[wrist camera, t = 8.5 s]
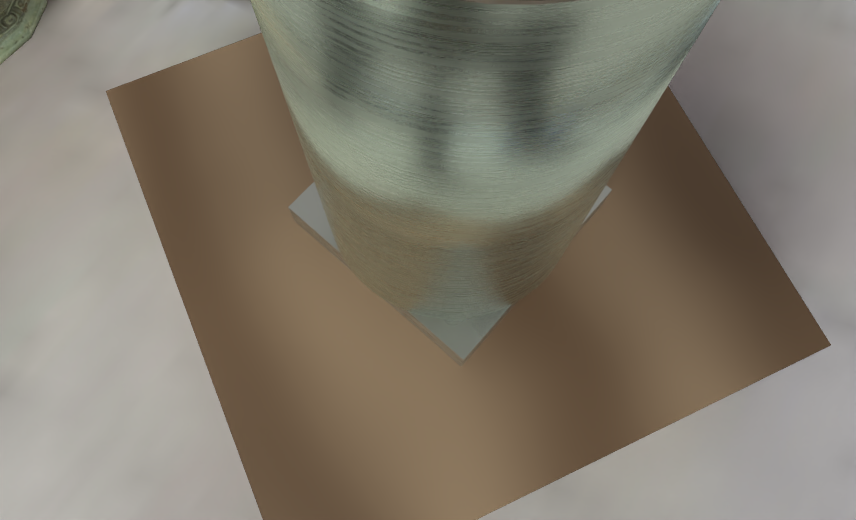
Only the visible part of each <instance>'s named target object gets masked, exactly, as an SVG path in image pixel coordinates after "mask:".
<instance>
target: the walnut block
mask: <svg viewBox="0 0 856 520" xmlns="http://www.w3.org/2000/svg"><path fill="white" fill-rule="evenodd" d="M106 93H107V96H108V99H109V101H110V104H111V107H112V109H113V112H114V115H115V118H116V120H117V123H118V126H119V129H120V131H121V134H122V137H123V139H124V142H125V145H126V148H127V150H128V153H129V156H130V158H131V161H132V164H133V167H134V169H135V172H136V175H137V178H138V180H139V183H140V186H141V188H142V191H143V194H144V197H145V199H146V202H147V205H148V208H149V210H150V213H151V216H152V218H153V221H154V224H155V227H156V229H157V232H158V235H159V237H160V240H161V243H162V246H163V248H164V251H165V254H166V257H167V259H168V262H169V265H170V267H171V270H172V273H173V276H174V278H175V281H176V284H177V287H178V289H179V292H180V295H181V297H182V300H183V303H184V306H185V308H186V311H187V314H188V316H189V319H190V322H191V325H192V327H193V330H194V333H195V336H196V338H197V341H198V344H199V346H200V349H201V352H202V355H203V357H204V360H205V363H206V366H207V368H208V371H209V374H210V376H211V379H212V382H213V385H214V387H215V390H216V393H217V396H218V398H219V401H220V404H221V406H222V409H223V412H224V415H225V417H226V420H227V423H228V425H229V428H230V431H231V434H232V436H233V439H234V442H235V445H236V447H237V450H238V453H239V455H240V458H241V461H242V464H243V466H244V469H245V472H246V475H247V477H248V480H249V483H250V485H251V488H252V491H253V494H254V496H255V499H256V502H257V504H258V507H259V510H260V513H261V515H262V518H263V520H476V519H479V518H481V517H483V516H485V515H487V514H489V513H491V512H493V511H495V510H497V509H499V508H501V507H503V506H505V505H507V504H509V503H511V502H513V501H515V500H517V499H519V498H521V497H523V496H525V495H527V494H529V493H531V492H533V491H535V490H537V489H540V488H542V487H544V486H546V485H548V484H550V483H552V482H554V481H556V480H558V479H560V478H562V477H564V476H566V475H568V474H570V473H572V472H574V471H576V470H578V469H580V468H582V467H584V466H586V465H588V464H590V463H592V462H594V461H596V460H598V459H601V458H603V457H605V456H607V455H609V454H611V453H613V452H615V451H617V450H619V449H621V448H623V447H625V446H627V445H629V444H631V443H633V442H635V441H637V440H639V439H641V438H643V437H645V436H647V435H649V434H651V433H653V432H655V431H657V430H659V429H662V428H664V427H666V426H668V425H670V424H672V423H674V422H676V421H678V420H680V419H682V418H684V417H686V416H688V415H690V414H692V413H694V412H696V411H698V410H700V409H702V408H704V407H706V406H708V405H710V404H712V403H714V402H716V401H718V400H720V399H723V398H725V397H727V396H729V395H731V394H733V393H735V392H737V391H739V390H741V389H743V388H745V387H747V386H749V385H751V384H753V383H755V382H757V381H759V380H761V379H763V378H765V377H767V376H769V375H771V374H773V373H775V372H777V371H779V370H781V369H784V368H786V367H788V366H790V365H792V364H794V363H796V362H798V361H800V360H802V359H804V358H806V357H808V356H810V355H812V354H814V353H816V352H818V351H820V350H822V349H824V348H826V347H828V346H830V345H831V344H830V343H829V341H828V339H827V338H826V336H825V335H824V333H823V331H822V330H821V328H820V327H819V325H818V324H817V322H816V320H815V319H814V317H813V316H812V314H811V312H810V311H809V309H808V308H807V306H806V304H805V303H804V301H803V300H802V298H801V297H800V295H799V293H798V292H797V290H796V289H795V287H794V285H793V284H792V282H791V281H790V279H789V277H788V276H787V274H786V273H785V271H784V270H783V268H782V266H781V265H780V263H779V262H778V260H777V258H776V257H775V255H774V254H773V252H772V250H771V249H770V247H769V246H768V244H767V242H766V241H765V239H764V238H763V236H762V235H761V233H760V231H759V230H758V228H757V227H756V225H755V223H754V222H753V220H752V219H751V217H750V215H749V214H748V212H747V211H746V209H745V208H744V206H743V204H742V203H741V201H740V200H739V198H738V196H737V195H736V193H735V192H734V190H733V188H732V187H731V185H730V184H729V182H728V181H727V179H726V177H725V176H724V174H723V173H722V171H721V169H720V168H719V166H718V165H717V163H716V161H715V160H714V158H713V157H712V155H711V153H710V152H709V150H708V149H707V147H706V146H705V144H704V142H703V141H702V139H701V138H700V136H699V134H698V133H697V131H696V130H695V128H694V126H693V125H692V123H691V122H690V120H689V119H688V117H687V115H686V114H685V112H684V111H683V109H682V107H681V106H680V104H679V103H678V101H677V99H676V98H675V96H674V95H673V93H672V92H671V90H670V88H669V87H668V86H667V88H666V89H665V91H664V92H663V94H662V96H661V97H660V99H659V101H658V102H657V104H656V105H655V107H654V109H653V110H652V112H651V113H650V115H649V117H648V118H647V120H646V121H645V123H644V125H643V126H642V128H641V129H640V131H639V133H638V134H637V136H636V138H635V139H634V141H633V142H632V144H631V146H630V147H629V149H628V150H627V152H626V154H625V155H624V157H623V158H622V160H621V162H620V163H619V165H618V167H617V168H616V170H615V171H614V173H613V175H612V176H611V178H610V179H609V181H608V183H607V184H606V185H607V186H608V187H609V188H610V189H612V191H611V192H610V194H609V195H608V197H607V198H606V200H605V201H604V203H603V204H602V206H601V207H600V208H599V209H598V210H597V211H596V213H595V214H594V215H593V216H592V217H591V218H590V219H589V221H588V222H587V223H586V224H585V225H584V226H583V228H582V229H581V230H580V231H579V232H578V233H577V234H576V236H575V237H574V238H573V239H572V241H571V242H570V244H569V245H568V247H567V249H566V250H565V252H564V254H563V255H562V257H561V258H560V260H559V262H558V263H557V265H556V266H555V267H554V269H553V270H552V271H551V273H550V274H549V275H548V277H547V278H546V279H545V280H544V281H543V282H542V283H541V284H540V285H539V286H538V287H537V288H536V289H534V290H533V291H532V292H530V293H529V294H528V295H527V296H525V297H524V298H522V299H521V300H519V301H518V302H517V303H516V304H515V306H514V307H513V308H512V309H511V310H510V311H509V312H508V314H507V315H506V316H505V317H504V318H503V319H502V321H501V322H500V323H499V324H498V325H497V326H496V327H495V329H494V330H493V331H492V332H491V333H490V334H489V335H488V337H487V338H486V339H485V340H484V341H483V342H482V343H481V345H480V346H479V347H478V348H477V349H476V350H475V351H474V353H473V354H472V355H471V356H470V357H469V358H468V360H467V361H466V362H465V363H464V364H463V365H462V366H460V365H459V364H457V363H456V362H455V361H454V360H453V359H452V358H451V357H449V356H448V355H447V354H446V353H445V352H444V351H443V350H441V349H440V348H439V347H438V346H437V345H436V344H435V343H433V342H432V341H431V340H430V339H429V338H428V337H427V336H425V335H424V334H423V333H422V332H421V331H420V330H419V329H417V328H416V327H415V326H414V325H413V324H412V323H411V322H409V321H408V320H407V319H406V318H405V317H404V316H402V315H401V314H400V313H399V312H398V311H397V310H396V309H394V308H393V307H392V306H391V305H390V304H389V303H388V302H386V301H385V300H384V299H383V298H381V297H379V296H378V295H377V294H375V293H374V292H373V291H372V290H370V289H369V288H368V287H367V286H366V285H365V284H364V283H363V282H362V281H361V280H360V279H359V278H358V277H357V276H356V275H355V274H354V273H353V272H352V271H351V270H350V269H349V268H348V267H346V266H345V265H344V264H343V263H342V262H341V261H340V260H338V259H337V258H336V257H335V256H334V255H333V254H332V253H330V252H329V251H328V250H327V249H326V248H325V247H324V246H322V245H321V244H320V243H319V242H318V241H317V240H316V239H314V238H313V237H312V236H311V235H310V234H309V233H307V232H306V231H305V230H304V229H303V228H302V227H301V226H299V225H298V224H297V223H296V222H295V221H294V218H293V216H292V214H291V212H290V210H289V208H288V207H289V206H290V205H291V204H292V203H293V202H294V201H295V200H296V199H297V198H298V197H299V196H300V195H301V194H302V193H303V192H304V191H305V190H306V189H307V188H308V187H309V186H310V185H311V184H312V183H313V182H314V180H313V177H312V174H311V171H310V169H309V166H308V163H307V160H306V157H305V154H304V151H303V149H302V146H301V143H300V140H299V137H298V134H297V131H296V129H295V126H294V123H293V120H292V117H291V114H290V112H289V109H288V106H287V103H286V100H285V97H284V94H283V92H282V89H281V86H280V83H279V80H278V77H277V74H276V72H275V69H274V66H273V63H272V60H271V57H270V54H269V52H268V49H267V46H266V43H265V40H264V37H263V34H262V33H260V34H257V35H254V36H252V37H249V38H246V39H244V40H241V41H238V42H236V43H233V44H230V45H228V46H225V47H222V48H220V49H217V50H214V51H212V52H209V53H206V54H204V55H201V56H198V57H196V58H193V59H190V60H188V61H185V62H182V63H180V64H177V65H174V66H172V67H169V68H166V69H164V70H161V71H158V72H156V73H153V74H150V75H148V76H145V77H142V78H140V79H137V80H134V81H132V82H129V83H126V84H124V85H121V86H118V87H116V88H113V89H110V90H107V91H106Z"/></svg>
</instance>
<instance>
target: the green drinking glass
mask: <svg viewBox="0 0 856 520" xmlns="http://www.w3.org/2000/svg"><path fill="white" fill-rule="evenodd" d="M720 1H721V0H251V3H252V6H253V9H254V12H255V15H256V17H257V20H258V23H259V26H260V29H261V32H262V34H263V37H264V40H265V43H266V46H267V49H268V52H269V54H270V57H271V60H272V63H273V66H274V69H275V72H276V74H277V77H278V80H279V83H280V86H281V89H282V92H283V94H284V97H285V100H286V103H287V106H288V109H289V112H290V114H291V117H292V120H293V123H294V126H295V129H296V131H297V134H298V137H299V140H300V143H301V146H302V149H303V151H304V154H305V157H306V160H307V163H308V166H309V169H310V171H311V174H312V177H313V180H314V182H313V183H312V184H311V185H310V186H309V187H308V188H307V189H306V190H305V191H304V192H303V193H302V194H301V195H300V196H299V197H298V198H297V199H296V200H295V201H294V202H293V203H292V204H291V205H290V206H289V207H288V208H289V210H290V212H291V214H292V216H293V218H294V221H295V222H296V223H297V224H298V225H299V226H301V227H302V228H303V229H304V230H305V231H306V232H307V233H309V234H310V235H311V236H312V237H313V238H314V239H316V240H317V241H318V242H319V243H320V244H321V245H322V246H324V247H325V248H326V249H327V250H328V251H329V252H330V253H332V254H333V255H334V256H335V257H336V258H337V259H338V260H340V261H341V262H342V263H343V264H344V265H345V266H346V267H348V268H349V269H350V270H351V271H352V272H353V273H354V274H355V275H356V276H357V277H358V278H359V279H360V280H361V281H362V282H363V283H364V284H365V285H366V286H367V287H368V288H369V289H370V290H372V291H373V292H374V293H375V294H377V295H378V296H379V297H381V298H383V299H384V300H385V301H386V302H388V303H389V304H390V305H391V306H392V307H393V308H394V309H396V310H397V311H398V312H399V313H400V314H401V315H402V316H404V317H405V318H406V319H407V320H408V321H409V322H411V323H412V324H413V325H414V326H415V327H416V328H417V329H419V330H420V331H421V332H422V333H423V334H424V335H425V336H427V337H428V338H429V339H430V340H431V341H432V342H433V343H435V344H436V345H437V346H438V347H439V348H440V349H441V350H443V351H444V352H445V353H446V354H447V355H448V356H449V357H451V358H452V359H453V360H454V361H455V362H456V363H457V364H459V365H460V366H462V365H463V364H464V363H465V362H466V361H467V360H468V358H469V357H470V356H471V355H472V354H473V353H474V351H475V350H476V349H477V348H478V347H479V346H480V345H481V343H482V342H483V341H484V340H485V339H486V338H487V337H488V335H489V334H490V333H491V332H492V331H493V330H494V329H495V327H496V326H497V325H498V324H499V323H500V322H501V321H502V319H503V318H504V317H505V316H506V315H507V314H508V312H509V311H510V310H511V309H512V308H513V307H514V306H515V304H516V303H517V302H518V301H519V300H521V299H522V298H524V297H525V296H527V295H528V294H529V293H530V292H532V291H533V290H534V289H536V288H537V287H538V286H539V285H540V284H541V283H542V282H543V281H544V280H545V279H546V278H547V277H548V275H549V274H550V273H551V271H552V270H553V269H554V267H555V266H556V265H557V263H558V262H559V260H560V258H561V257H562V255H563V254H564V252H565V250H566V249H567V247H568V245H569V244H570V242H571V241H572V239H573V238H574V237H575V236H576V234H577V233H578V232H579V231H580V230H581V229H582V228H583V226H584V225H585V224H586V223H587V222H588V221H589V219H590V218H591V217H592V216H593V215H594V214H595V213H596V211H597V210H598V209H599V208H600V207H601V206H602V204H603V203H604V201H605V200H606V198H607V197H608V195H609V194H610V192H611V191H612V189H610V188H609V187H608V186H607V185H606V184H607V183H608V181H609V179H610V178H611V176H612V175H613V173H614V171H615V170H616V168H617V167H618V165H619V163H620V162H621V160H622V158H623V157H624V155H625V154H626V152H627V150H628V149H629V147H630V146H631V144H632V142H633V141H634V139H635V138H636V136H637V134H638V133H639V131H640V129H641V128H642V126H643V125H644V123H645V121H646V120H647V118H648V117H649V115H650V113H651V112H652V110H653V109H654V107H655V105H656V104H657V102H658V101H659V99H660V97H661V96H662V94H663V92H664V91H665V89H666V88H667V86H668V84H669V83H670V81H671V80H672V78H673V76H674V75H675V73H676V72H677V70H678V68H679V67H680V65H681V63H682V62H683V60H684V59H685V57H686V55H687V54H688V52H689V51H690V49H691V47H692V46H693V44H694V43H695V41H696V39H697V38H698V36H699V34H700V33H701V31H702V30H703V28H704V26H705V25H706V23H707V22H708V20H709V18H710V17H711V15H712V14H713V12H714V10H715V9H716V7H717V5H718V4H719V2H720Z"/></svg>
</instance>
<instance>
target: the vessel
mask: <svg viewBox="0 0 856 520" xmlns="http://www.w3.org/2000/svg"><path fill="white" fill-rule="evenodd" d="M46 6H47V0H0V64H2V63H3V62H4V61H5V60H6V59H7V58H8V57H10V56H11V55H12V54H13V53H14V52H15V51H17V50H18V49H19V48H20V47H21V46H22V45H23V44H25V43H26V42H27V41H28V40H29V39H30V38H31V37H32V35H33V33H34V31H35V29H36V27H37V24H38V22H39V20H40V18H41V16H42V14H43V12H44V10H45V8H46Z"/></svg>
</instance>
